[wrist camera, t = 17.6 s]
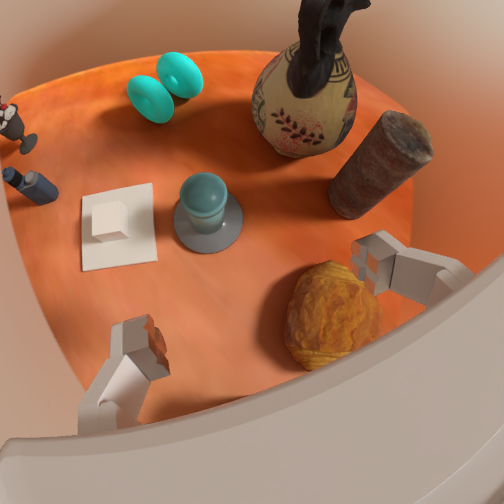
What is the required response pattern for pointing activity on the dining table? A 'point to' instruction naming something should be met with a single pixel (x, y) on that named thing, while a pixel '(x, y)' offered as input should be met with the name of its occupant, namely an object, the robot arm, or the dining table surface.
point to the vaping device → (31, 185)
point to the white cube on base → (118, 228)
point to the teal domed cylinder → (204, 201)
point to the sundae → (15, 127)
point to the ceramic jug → (309, 84)
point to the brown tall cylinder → (380, 164)
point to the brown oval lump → (330, 316)
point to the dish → (210, 241)
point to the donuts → (165, 87)
